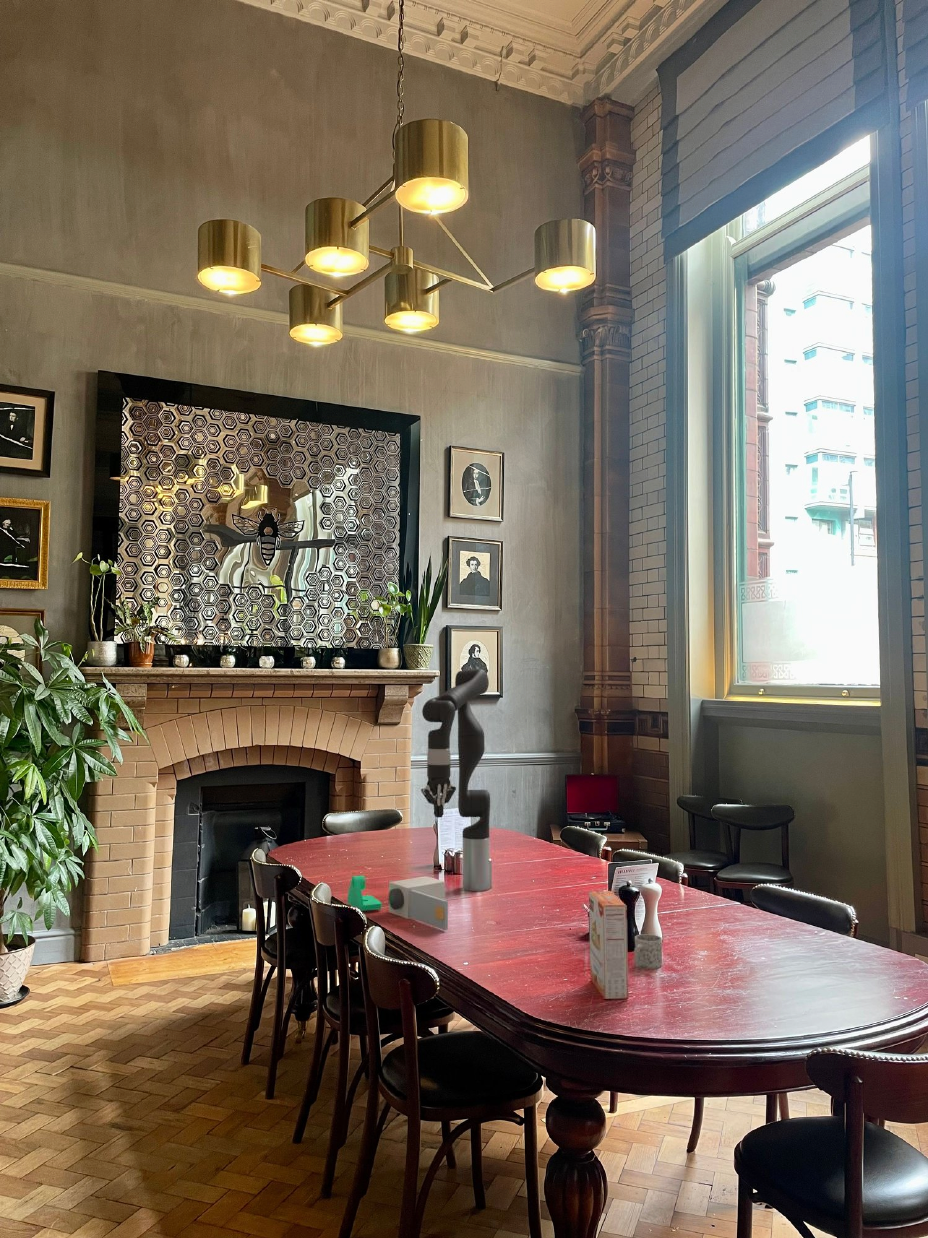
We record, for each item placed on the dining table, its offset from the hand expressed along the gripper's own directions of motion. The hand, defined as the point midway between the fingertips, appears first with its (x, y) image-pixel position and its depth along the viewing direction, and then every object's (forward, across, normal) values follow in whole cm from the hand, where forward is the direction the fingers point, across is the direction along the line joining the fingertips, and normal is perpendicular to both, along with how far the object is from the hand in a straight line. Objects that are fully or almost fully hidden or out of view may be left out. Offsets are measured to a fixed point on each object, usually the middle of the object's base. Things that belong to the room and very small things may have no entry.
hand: (438, 817), depth 295 cm
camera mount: (+27, -22, +9) cm, 36 cm away
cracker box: (+27, -19, -90) cm, 96 cm away
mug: (+27, +1, -84) cm, 88 cm away
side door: (+26, -19, -19) cm, 38 cm away
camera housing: (+27, -12, -5) cm, 30 cm away
